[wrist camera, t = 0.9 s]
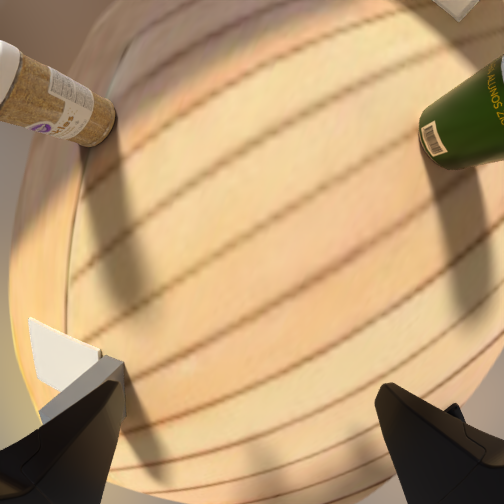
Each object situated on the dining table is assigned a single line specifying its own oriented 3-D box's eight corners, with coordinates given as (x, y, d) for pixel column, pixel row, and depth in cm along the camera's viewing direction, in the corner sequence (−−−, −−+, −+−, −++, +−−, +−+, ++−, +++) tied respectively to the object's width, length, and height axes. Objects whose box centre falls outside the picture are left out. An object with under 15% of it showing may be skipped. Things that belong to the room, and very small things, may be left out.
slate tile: (123, 361, 23) (59, 424, 13) (126, 416, 24) (78, 479, 14) (104, 354, 23) (38, 410, 13) (109, 409, 24) (59, 467, 14)
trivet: (100, 349, 23) (97, 351, 22) (105, 411, 24) (103, 413, 23) (30, 317, 23) (28, 318, 23) (39, 376, 25) (37, 378, 24)
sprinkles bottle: (80, 156, 21) (-48, 131, 7) (74, 113, 20) (-38, 71, 7) (121, 133, 20) (-8, 81, 7) (114, 89, 20) (4, 22, 6)
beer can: (438, 183, 18) (553, 166, 6) (402, 121, 18) (496, 53, 6) (476, 154, 17) (580, 129, 6) (444, 98, 17) (533, 39, 5)
